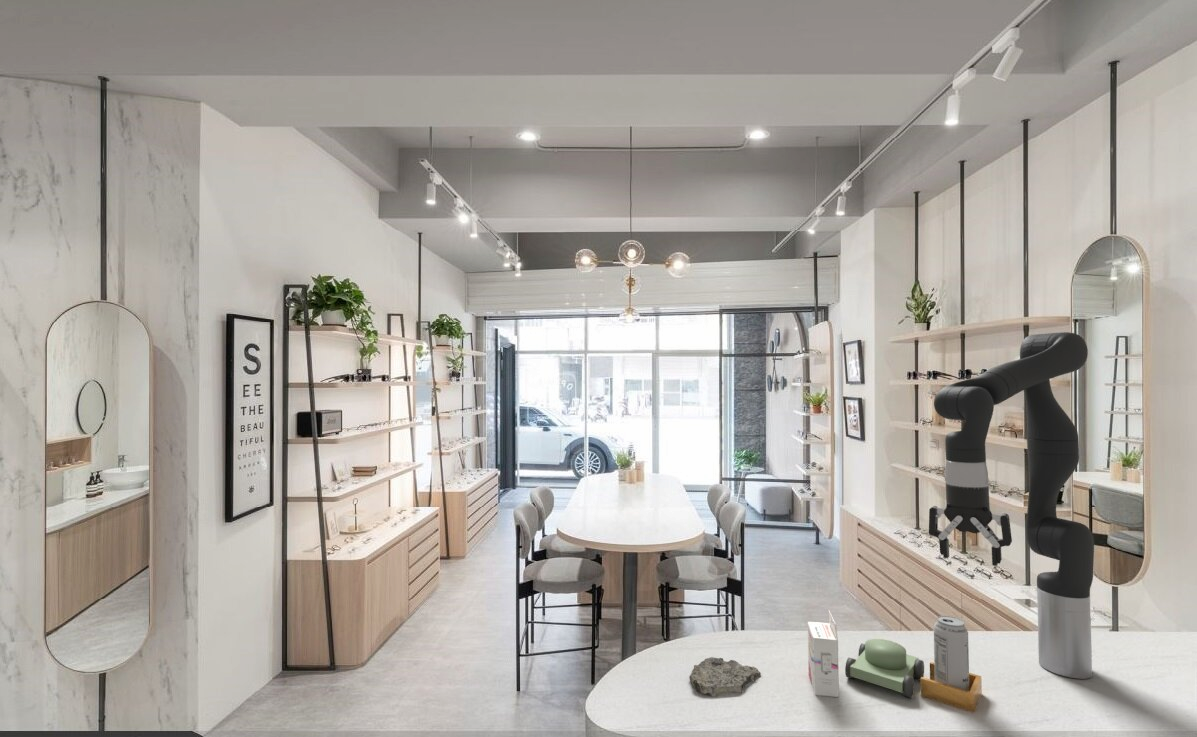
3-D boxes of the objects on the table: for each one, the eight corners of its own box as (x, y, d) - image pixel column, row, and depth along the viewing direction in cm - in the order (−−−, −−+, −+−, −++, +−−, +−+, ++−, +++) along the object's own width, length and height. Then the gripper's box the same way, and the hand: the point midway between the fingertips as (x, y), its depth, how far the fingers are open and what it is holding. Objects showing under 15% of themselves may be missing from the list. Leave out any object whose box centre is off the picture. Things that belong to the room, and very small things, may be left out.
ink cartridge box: (807, 674, 124) (806, 606, 124) (831, 677, 123) (830, 608, 123) (813, 695, 116) (813, 622, 116) (839, 698, 115) (838, 624, 115)
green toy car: (864, 657, 132) (864, 629, 132) (924, 675, 123) (924, 645, 124) (844, 681, 121) (844, 650, 121) (908, 702, 113) (908, 669, 113)
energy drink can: (973, 705, 112) (971, 628, 112) (938, 699, 114) (936, 624, 115) (965, 690, 118) (963, 617, 118) (932, 684, 120) (930, 613, 120)
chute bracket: (930, 678, 122) (930, 661, 122) (981, 693, 116) (981, 676, 116) (920, 695, 115) (920, 678, 116) (974, 712, 109) (973, 694, 109)
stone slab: (673, 686, 120) (673, 671, 120) (715, 657, 133) (715, 644, 133) (725, 709, 112) (725, 694, 112) (764, 676, 124) (764, 662, 124)
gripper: (1010, 483, 116) (1014, 563, 115) (931, 476, 125) (934, 550, 125) (1006, 489, 110) (1010, 573, 110) (923, 481, 119) (926, 559, 119)
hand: (970, 561), depth 117 cm, fingers open, 8 cm apart
